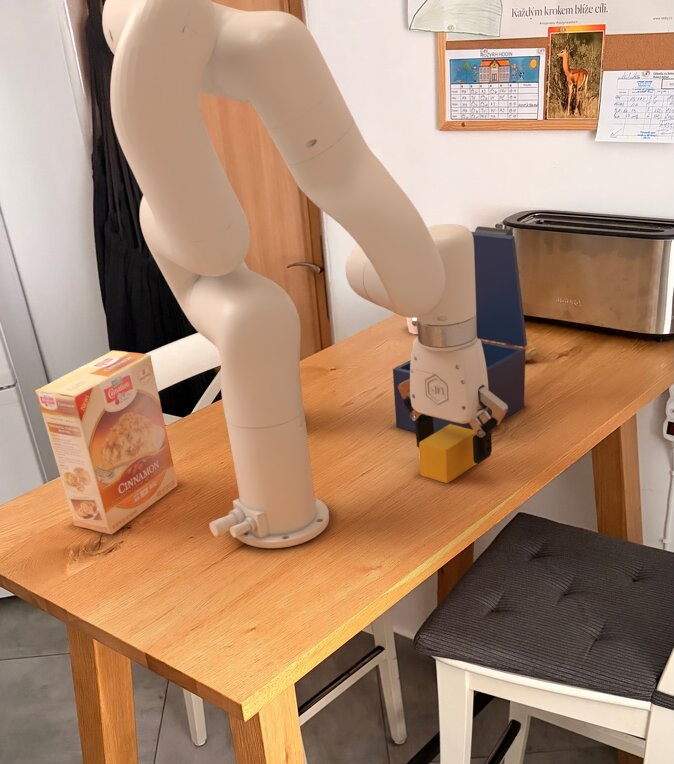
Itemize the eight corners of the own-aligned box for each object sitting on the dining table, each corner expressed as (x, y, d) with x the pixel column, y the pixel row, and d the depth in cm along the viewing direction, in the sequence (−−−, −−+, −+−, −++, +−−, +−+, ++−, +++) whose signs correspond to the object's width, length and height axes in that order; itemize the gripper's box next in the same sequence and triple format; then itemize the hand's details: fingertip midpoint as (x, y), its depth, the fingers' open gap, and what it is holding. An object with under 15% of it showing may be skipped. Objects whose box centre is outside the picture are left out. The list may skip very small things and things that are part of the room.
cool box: (462, 445, 132) (461, 384, 127) (396, 426, 140) (392, 368, 135) (524, 407, 142) (525, 348, 136) (458, 391, 149) (457, 335, 144)
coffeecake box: (112, 536, 120) (74, 396, 109) (72, 526, 123) (31, 390, 112) (180, 485, 130) (152, 353, 119) (142, 478, 134) (111, 348, 123)
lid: (511, 238, 124) (532, 220, 127) (437, 230, 132) (459, 213, 134) (524, 347, 136) (543, 328, 138) (456, 334, 143) (475, 316, 146)
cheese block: (447, 483, 123) (446, 450, 120) (420, 475, 126) (418, 442, 123) (477, 463, 127) (477, 430, 124) (450, 456, 130) (450, 423, 127)
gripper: (376, 330, 119) (388, 448, 129) (486, 350, 108) (489, 477, 118) (412, 311, 123) (421, 428, 133) (521, 329, 112) (522, 454, 122)
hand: (453, 451), depth 125 cm, fingers open, 9 cm apart
